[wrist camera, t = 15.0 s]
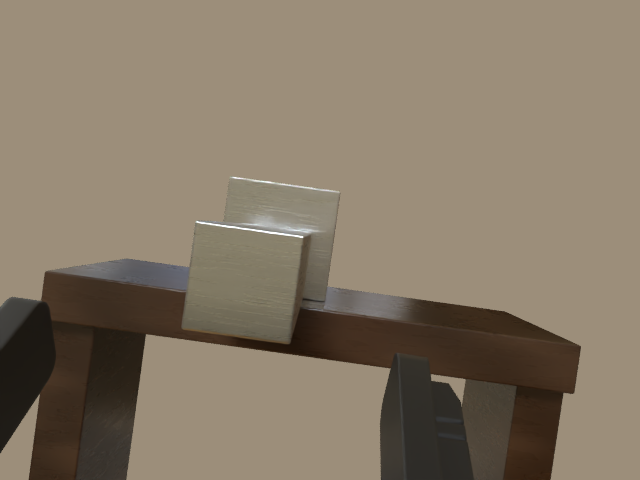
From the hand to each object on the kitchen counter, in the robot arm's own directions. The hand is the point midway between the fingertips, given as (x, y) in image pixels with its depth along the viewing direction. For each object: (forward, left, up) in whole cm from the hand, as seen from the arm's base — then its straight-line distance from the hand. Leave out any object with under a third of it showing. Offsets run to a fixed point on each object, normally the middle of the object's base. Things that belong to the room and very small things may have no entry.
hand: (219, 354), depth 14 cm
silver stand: (0, -10, 0) cm, 10 cm away
